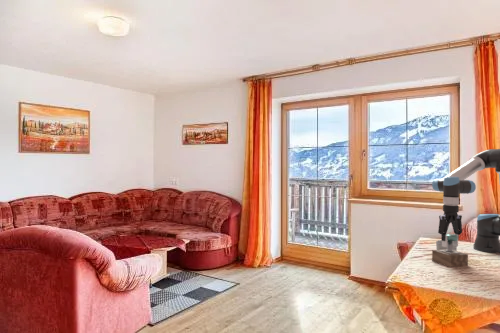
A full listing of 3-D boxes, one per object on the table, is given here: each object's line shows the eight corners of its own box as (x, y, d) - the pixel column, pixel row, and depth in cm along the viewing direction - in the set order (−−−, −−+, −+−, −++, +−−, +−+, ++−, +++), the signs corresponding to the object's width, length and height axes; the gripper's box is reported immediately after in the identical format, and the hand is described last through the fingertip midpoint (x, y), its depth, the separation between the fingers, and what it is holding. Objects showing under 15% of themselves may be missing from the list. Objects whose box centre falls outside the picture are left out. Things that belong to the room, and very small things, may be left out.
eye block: (448, 259, 195) (448, 248, 195) (467, 265, 183) (468, 253, 183) (432, 260, 191) (432, 249, 191) (450, 267, 180) (450, 255, 180)
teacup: (459, 258, 198) (459, 244, 197) (439, 256, 200) (439, 243, 200) (450, 252, 211) (450, 239, 211) (431, 251, 213) (431, 238, 213)
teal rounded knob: (449, 260, 192) (449, 233, 191) (460, 264, 185) (460, 236, 185) (439, 261, 190) (439, 234, 189) (450, 265, 183) (450, 236, 183)
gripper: (458, 203, 193) (457, 243, 194) (430, 204, 188) (430, 245, 188) (470, 205, 186) (469, 246, 187) (442, 205, 180) (441, 249, 181)
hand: (449, 246), depth 187 cm, fingers closed on teal rounded knob, 7 cm apart
